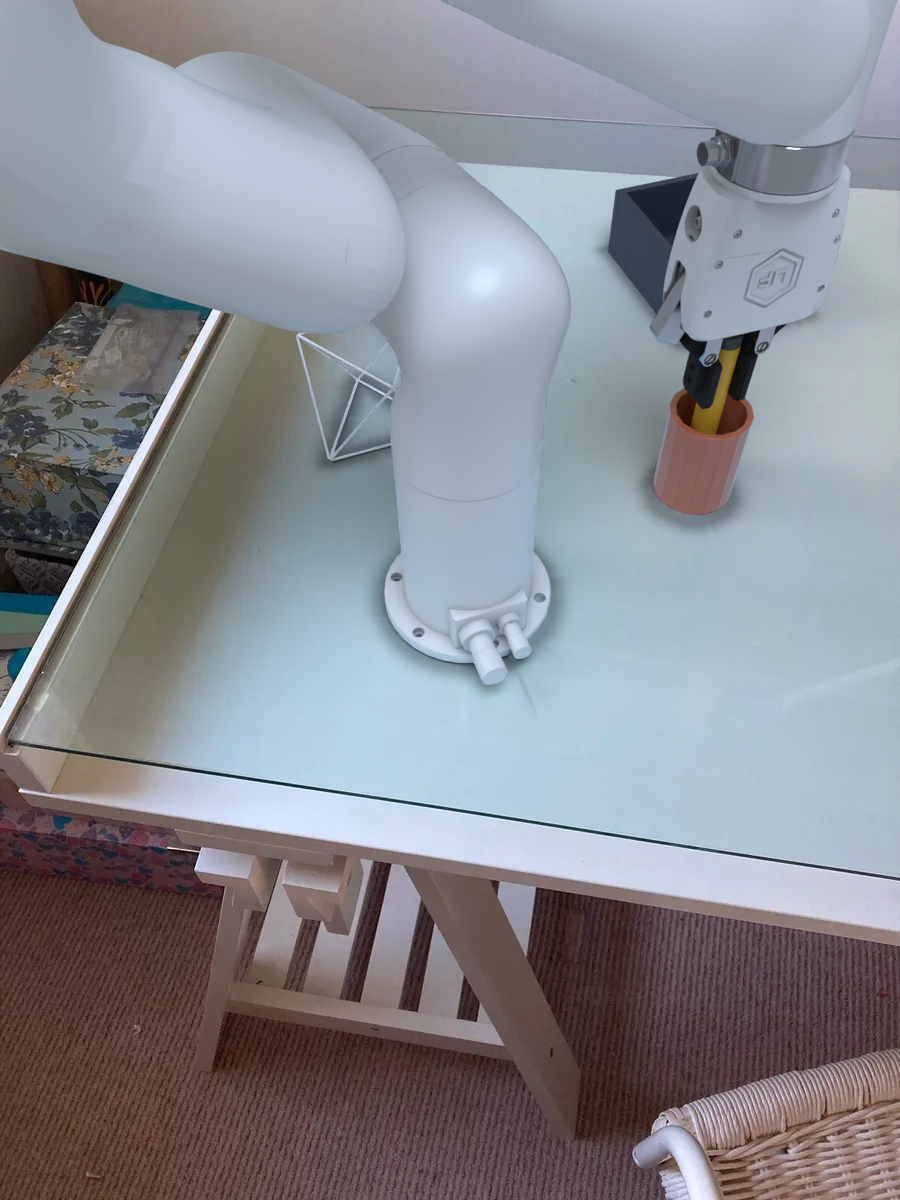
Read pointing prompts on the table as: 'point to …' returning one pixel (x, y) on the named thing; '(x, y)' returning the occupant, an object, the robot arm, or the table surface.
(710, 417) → the pencil
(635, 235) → the bin
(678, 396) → the pencil cup
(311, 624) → the table surface
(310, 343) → the geometric polyhedron
